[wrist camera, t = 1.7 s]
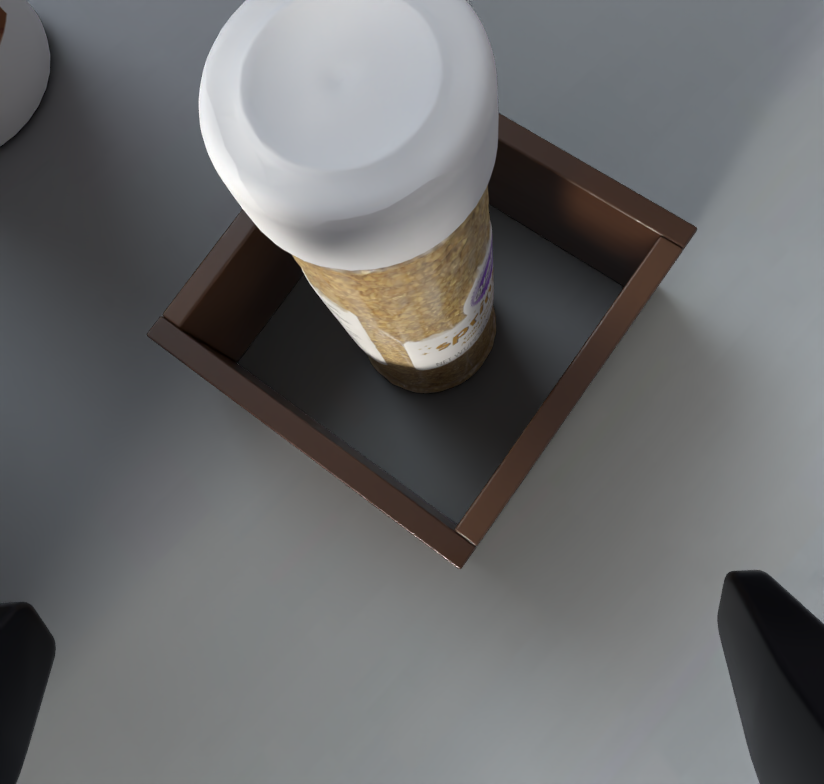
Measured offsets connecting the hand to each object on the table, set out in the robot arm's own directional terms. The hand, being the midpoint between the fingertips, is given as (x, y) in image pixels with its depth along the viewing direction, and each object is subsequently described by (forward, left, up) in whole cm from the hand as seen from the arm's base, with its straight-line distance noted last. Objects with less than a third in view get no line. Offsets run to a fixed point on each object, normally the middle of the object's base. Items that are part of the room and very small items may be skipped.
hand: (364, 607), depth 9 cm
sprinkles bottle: (+6, +5, -13) cm, 15 cm away
